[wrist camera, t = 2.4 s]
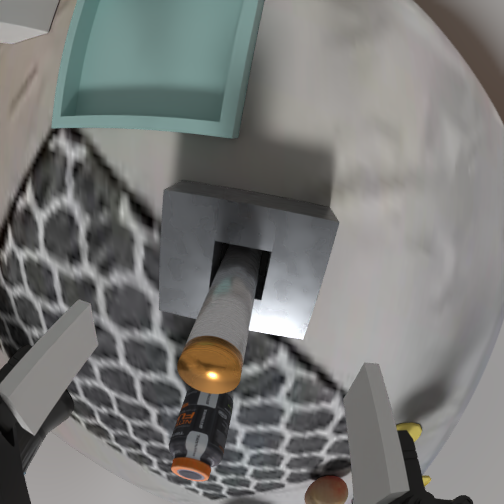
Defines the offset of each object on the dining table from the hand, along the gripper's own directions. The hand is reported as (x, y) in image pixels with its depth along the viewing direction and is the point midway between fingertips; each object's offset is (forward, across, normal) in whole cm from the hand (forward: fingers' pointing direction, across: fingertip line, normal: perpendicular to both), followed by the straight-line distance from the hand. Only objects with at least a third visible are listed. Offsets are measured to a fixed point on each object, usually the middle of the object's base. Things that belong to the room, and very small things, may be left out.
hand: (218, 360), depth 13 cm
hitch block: (+13, 0, 0) cm, 13 cm away
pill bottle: (+13, -2, -21) cm, 25 cm away
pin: (+13, 0, 0) cm, 13 cm away
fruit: (+13, +22, -43) cm, 50 cm away
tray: (+13, -10, +16) cm, 23 cm away
